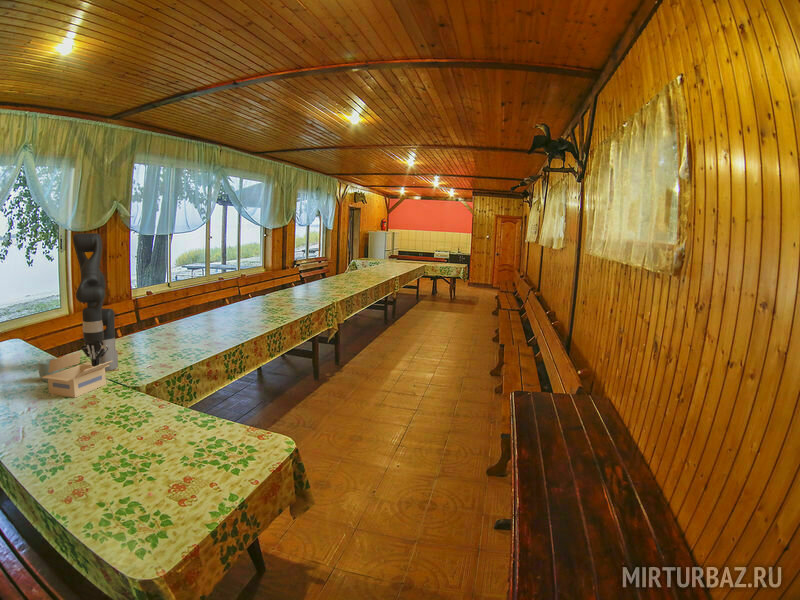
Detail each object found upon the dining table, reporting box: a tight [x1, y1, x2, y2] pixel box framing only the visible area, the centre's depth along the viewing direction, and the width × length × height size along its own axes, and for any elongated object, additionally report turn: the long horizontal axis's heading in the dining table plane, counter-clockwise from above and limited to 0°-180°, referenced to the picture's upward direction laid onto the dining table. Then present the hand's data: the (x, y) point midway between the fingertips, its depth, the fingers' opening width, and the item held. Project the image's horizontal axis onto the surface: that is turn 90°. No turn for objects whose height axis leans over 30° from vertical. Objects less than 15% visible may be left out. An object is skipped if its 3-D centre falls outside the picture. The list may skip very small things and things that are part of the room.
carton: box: [40, 361, 110, 399], centre depth 195 cm, size 22×14×9 cm, turn 170°
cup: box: [37, 358, 61, 383], centre depth 203 cm, size 8×8×10 cm
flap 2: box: [75, 361, 112, 377], centre depth 192 cm, size 15×6×1 cm
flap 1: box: [49, 351, 82, 373], centre depth 195 cm, size 15×6×1 cm
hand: (95, 366), depth 192 cm, fingers closed
